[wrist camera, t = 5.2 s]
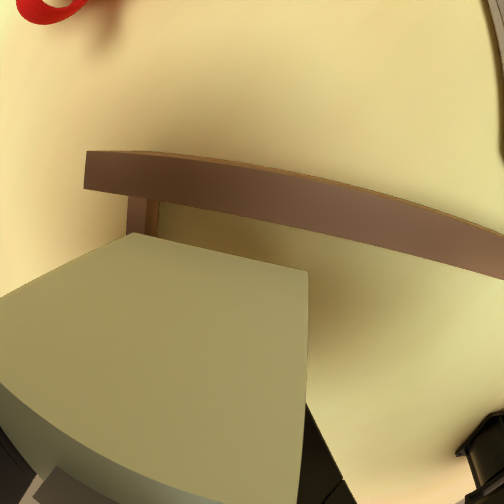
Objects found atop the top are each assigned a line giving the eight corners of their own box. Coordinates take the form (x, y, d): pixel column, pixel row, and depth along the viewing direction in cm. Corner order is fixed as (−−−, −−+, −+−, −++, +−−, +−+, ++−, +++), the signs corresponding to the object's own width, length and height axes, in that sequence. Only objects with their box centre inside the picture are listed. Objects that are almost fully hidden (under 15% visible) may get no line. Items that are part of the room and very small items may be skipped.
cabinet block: (263, 420, 9) (218, 588, 3) (138, 381, 10) (43, 509, 3) (308, 271, 7) (281, 588, 1) (133, 232, 8) (-82, 349, 1)
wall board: (449, 374, 16) (478, 432, 10) (138, 312, 18) (87, 361, 12) (509, 237, 12) (568, 269, 7) (147, 151, 15) (75, 150, 9)
